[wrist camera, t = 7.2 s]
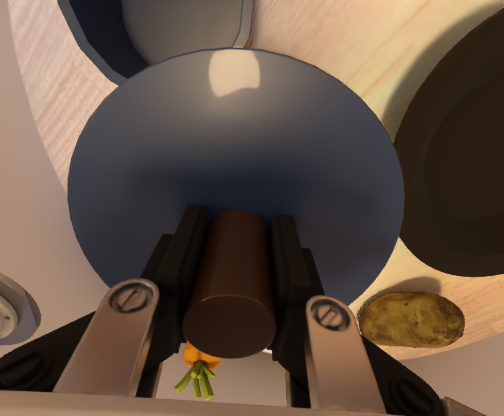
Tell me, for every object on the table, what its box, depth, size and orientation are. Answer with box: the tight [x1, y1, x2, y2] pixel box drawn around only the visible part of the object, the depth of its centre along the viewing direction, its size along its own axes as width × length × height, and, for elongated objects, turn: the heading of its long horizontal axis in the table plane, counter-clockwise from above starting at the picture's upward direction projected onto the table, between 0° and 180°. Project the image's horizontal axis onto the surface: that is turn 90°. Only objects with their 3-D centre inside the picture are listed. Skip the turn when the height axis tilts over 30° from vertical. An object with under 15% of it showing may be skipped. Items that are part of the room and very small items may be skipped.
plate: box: [393, 8, 504, 277], centre depth 28 cm, size 28×24×6 cm
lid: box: [68, 47, 405, 359], centre depth 10 cm, size 14×14×6 cm
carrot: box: [175, 341, 221, 401], centre depth 34 cm, size 5×5×15 cm
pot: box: [57, 0, 256, 86], centre depth 21 cm, size 13×18×8 cm
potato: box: [359, 292, 465, 348], centre depth 38 cm, size 8×13×8 cm, turn 110°
